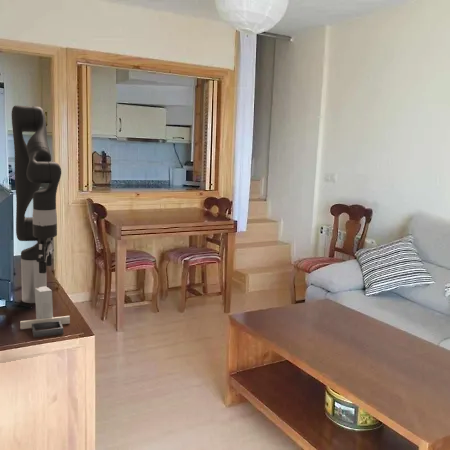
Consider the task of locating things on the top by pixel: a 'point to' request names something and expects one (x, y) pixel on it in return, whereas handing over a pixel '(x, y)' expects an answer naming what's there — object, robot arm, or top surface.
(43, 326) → the frame
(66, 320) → the door edge rail
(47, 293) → the skincare box
